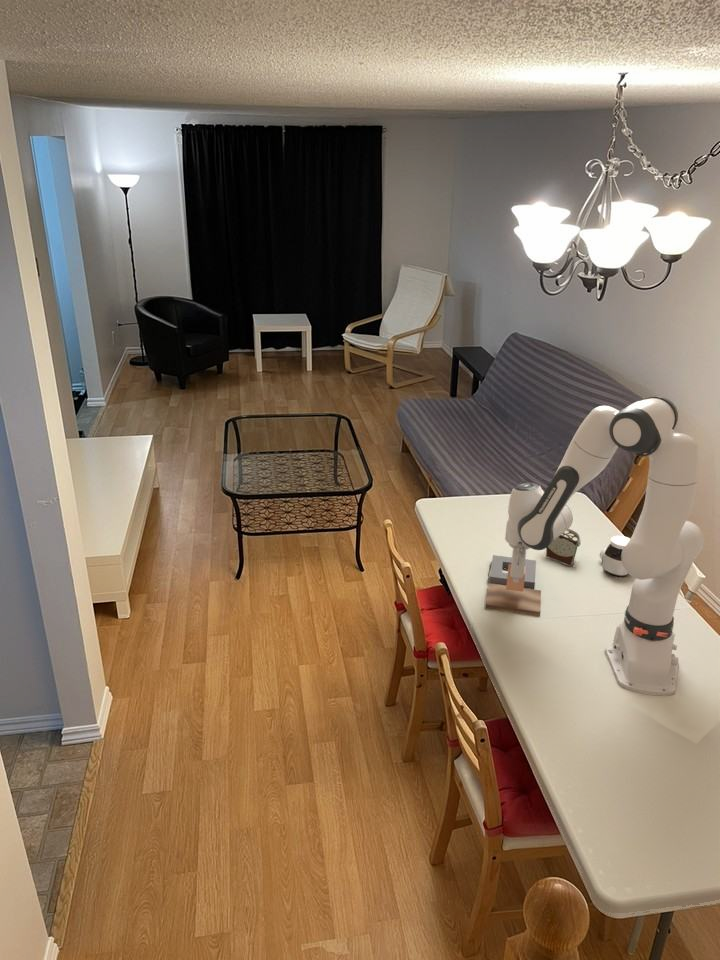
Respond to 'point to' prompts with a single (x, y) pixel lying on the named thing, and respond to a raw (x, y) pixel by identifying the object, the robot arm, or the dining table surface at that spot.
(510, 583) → the terracotta block
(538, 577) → the dining table surface
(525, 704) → the dining table surface
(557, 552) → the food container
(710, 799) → the dining table surface
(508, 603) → the walnut board
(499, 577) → the pocket plate
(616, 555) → the spread jar
